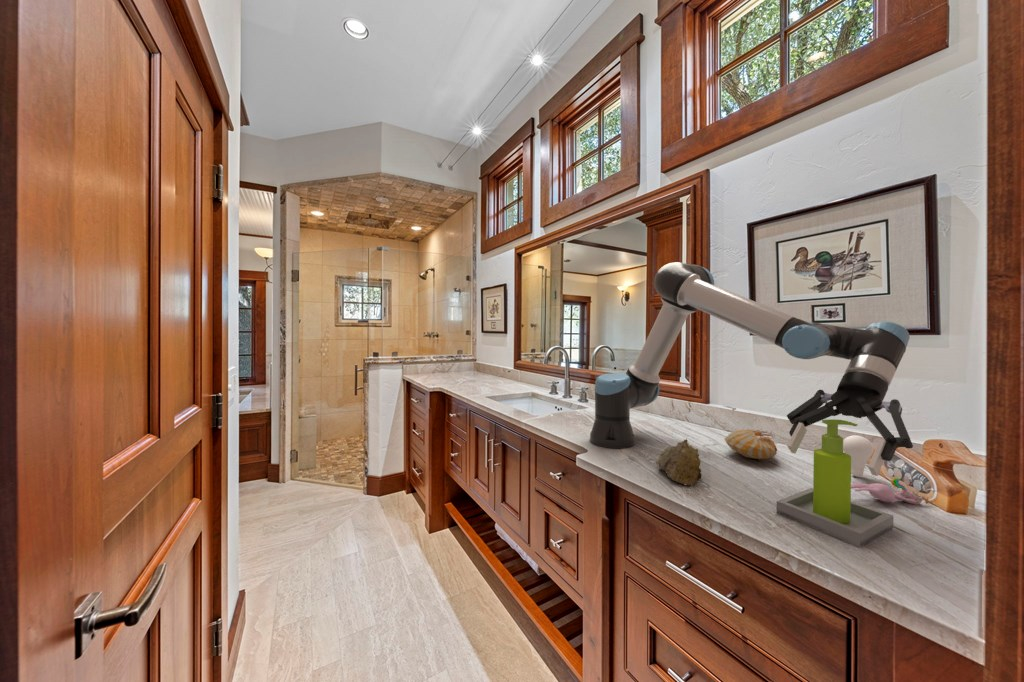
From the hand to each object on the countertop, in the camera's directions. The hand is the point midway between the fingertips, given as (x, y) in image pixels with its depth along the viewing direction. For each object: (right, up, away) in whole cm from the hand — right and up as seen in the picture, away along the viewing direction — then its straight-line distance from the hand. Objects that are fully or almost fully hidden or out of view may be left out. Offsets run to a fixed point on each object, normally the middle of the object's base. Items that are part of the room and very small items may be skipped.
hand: (828, 459), depth 75 cm
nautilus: (+12, -12, +39) cm, 43 cm away
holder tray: (+2, -13, +2) cm, 13 cm away
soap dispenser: (+2, -12, +1) cm, 13 cm away
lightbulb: (+27, -12, +23) cm, 38 cm away
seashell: (-19, -13, +25) cm, 34 cm away
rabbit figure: (+22, -13, +10) cm, 27 cm away
